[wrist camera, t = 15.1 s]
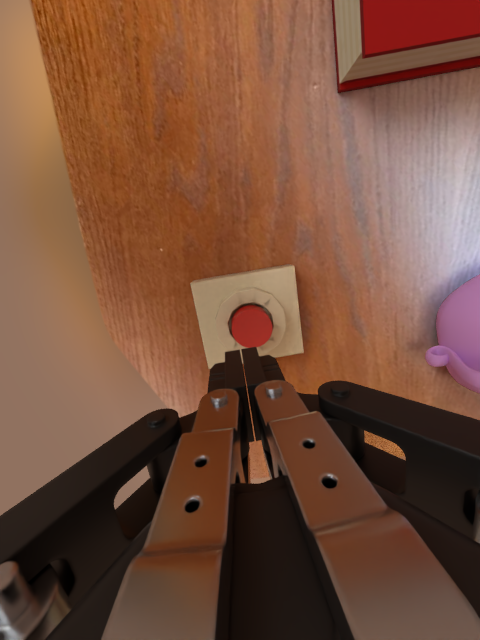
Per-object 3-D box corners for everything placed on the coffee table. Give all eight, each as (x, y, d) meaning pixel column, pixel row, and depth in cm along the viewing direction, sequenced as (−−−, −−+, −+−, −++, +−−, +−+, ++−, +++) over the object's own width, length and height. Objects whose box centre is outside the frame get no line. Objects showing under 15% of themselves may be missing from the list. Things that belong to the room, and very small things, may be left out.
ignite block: (209, 360, 30) (207, 377, 26) (193, 280, 28) (187, 286, 24) (298, 345, 30) (308, 360, 26) (289, 264, 28) (299, 266, 24)
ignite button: (234, 344, 26) (235, 351, 24) (228, 308, 25) (228, 313, 23) (272, 338, 26) (275, 344, 24) (266, 301, 25) (269, 305, 23)
